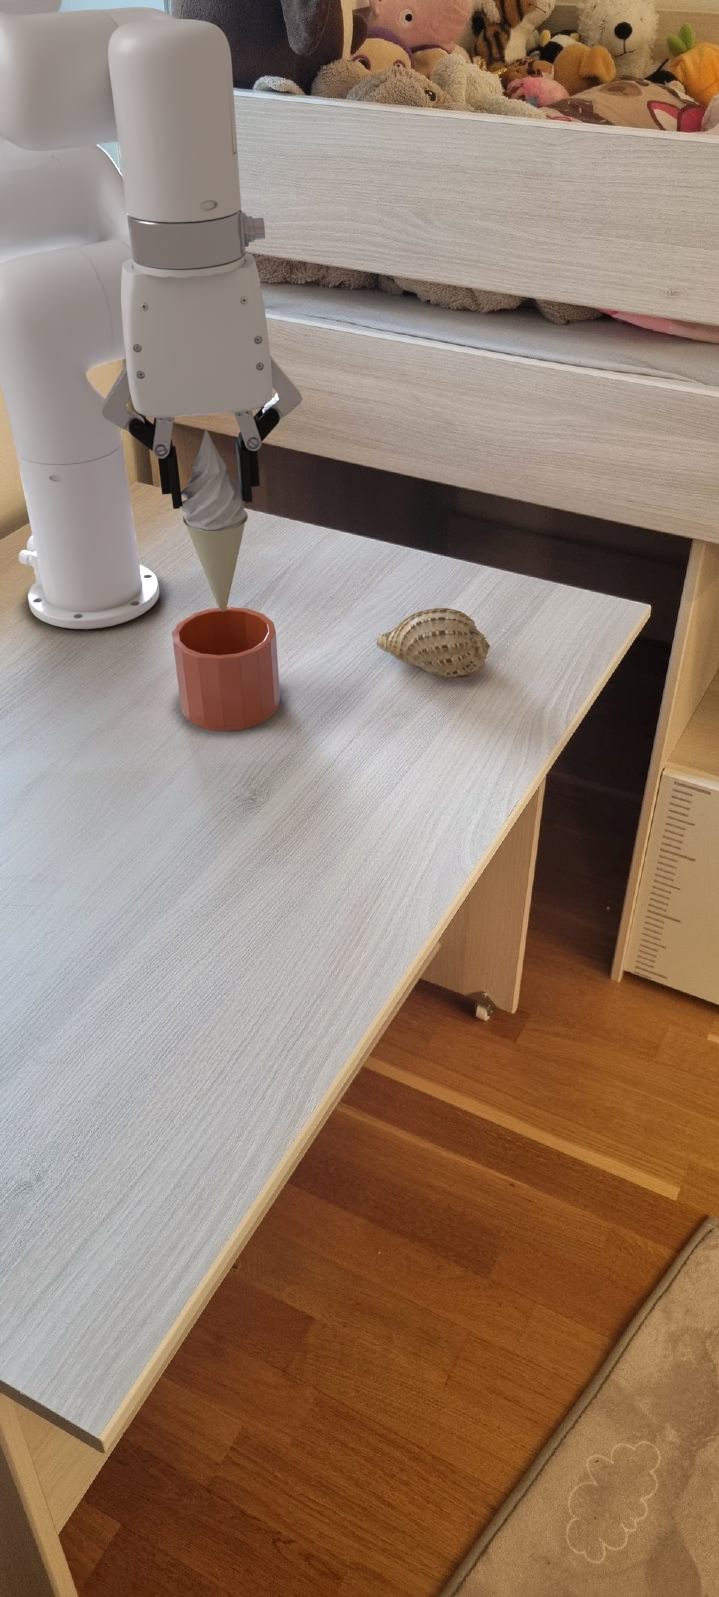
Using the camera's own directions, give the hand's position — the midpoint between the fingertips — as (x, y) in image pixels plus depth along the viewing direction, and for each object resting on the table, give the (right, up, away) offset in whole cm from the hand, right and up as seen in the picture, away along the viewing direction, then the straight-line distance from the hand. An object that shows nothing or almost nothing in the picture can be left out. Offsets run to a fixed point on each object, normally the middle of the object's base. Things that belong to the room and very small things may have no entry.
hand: (211, 496), depth 91 cm
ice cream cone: (0, -8, +6) cm, 10 cm away
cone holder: (0, -15, +12) cm, 19 cm away
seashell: (+18, -11, +16) cm, 27 cm away
